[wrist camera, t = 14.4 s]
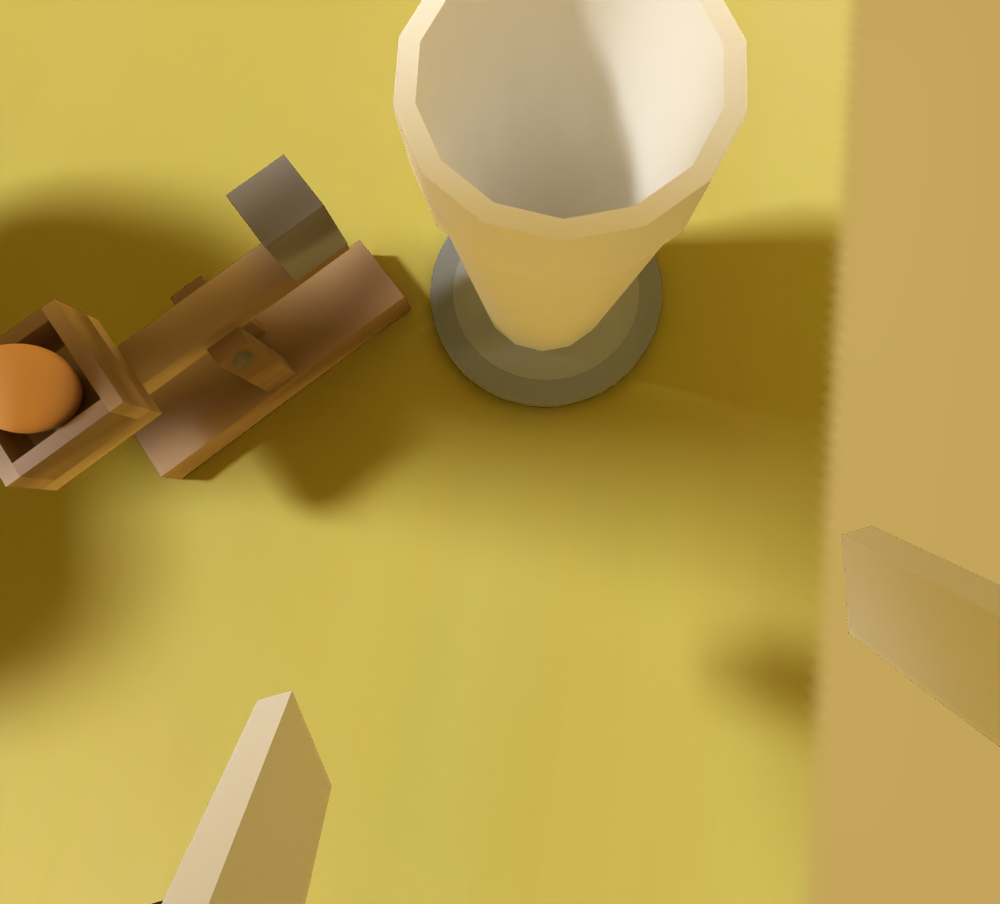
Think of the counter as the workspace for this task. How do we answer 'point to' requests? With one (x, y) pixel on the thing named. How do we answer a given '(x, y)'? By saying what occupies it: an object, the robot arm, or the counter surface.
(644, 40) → the foam cup
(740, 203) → the counter surface
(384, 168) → the counter surface
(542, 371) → the coaster
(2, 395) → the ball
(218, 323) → the catapult
